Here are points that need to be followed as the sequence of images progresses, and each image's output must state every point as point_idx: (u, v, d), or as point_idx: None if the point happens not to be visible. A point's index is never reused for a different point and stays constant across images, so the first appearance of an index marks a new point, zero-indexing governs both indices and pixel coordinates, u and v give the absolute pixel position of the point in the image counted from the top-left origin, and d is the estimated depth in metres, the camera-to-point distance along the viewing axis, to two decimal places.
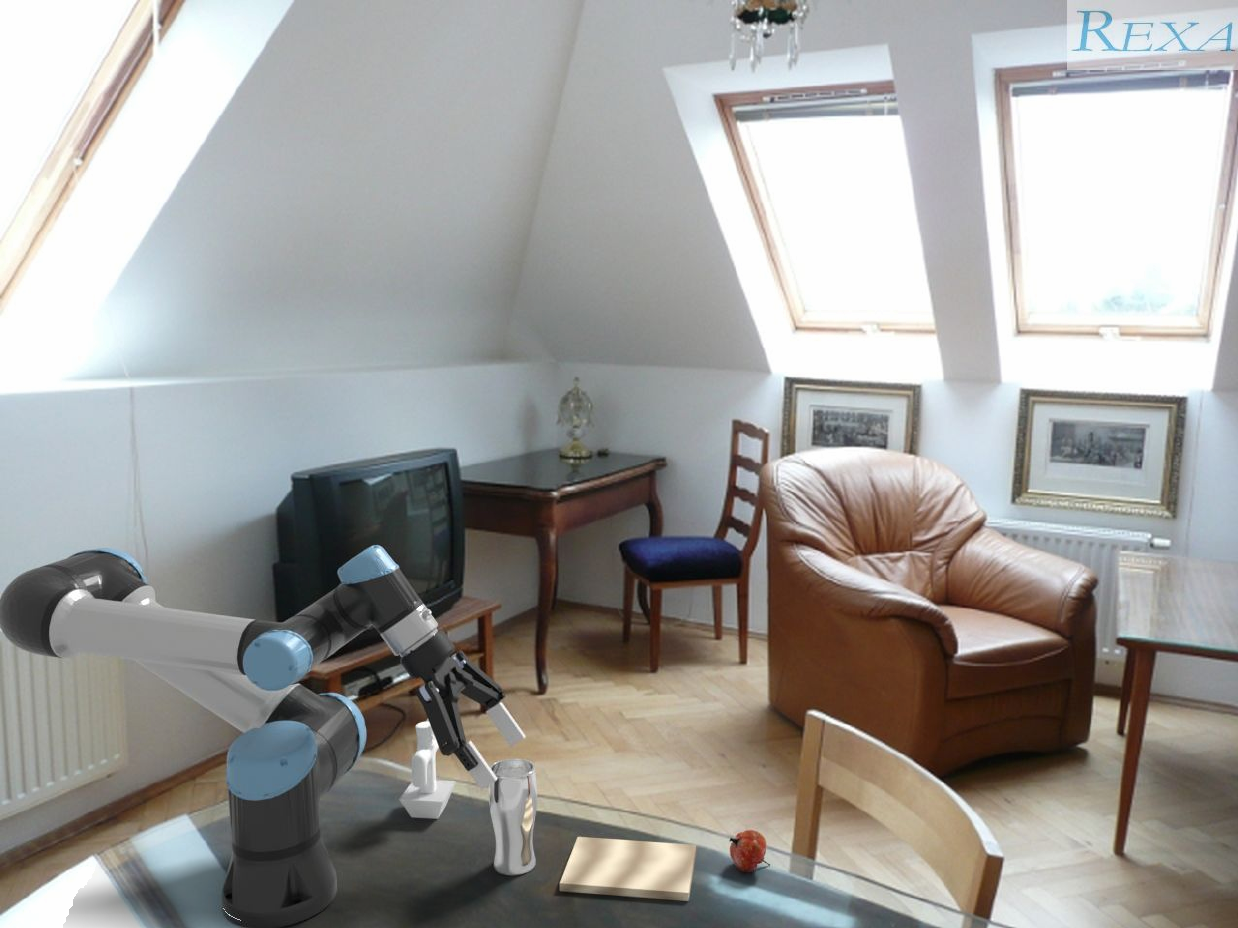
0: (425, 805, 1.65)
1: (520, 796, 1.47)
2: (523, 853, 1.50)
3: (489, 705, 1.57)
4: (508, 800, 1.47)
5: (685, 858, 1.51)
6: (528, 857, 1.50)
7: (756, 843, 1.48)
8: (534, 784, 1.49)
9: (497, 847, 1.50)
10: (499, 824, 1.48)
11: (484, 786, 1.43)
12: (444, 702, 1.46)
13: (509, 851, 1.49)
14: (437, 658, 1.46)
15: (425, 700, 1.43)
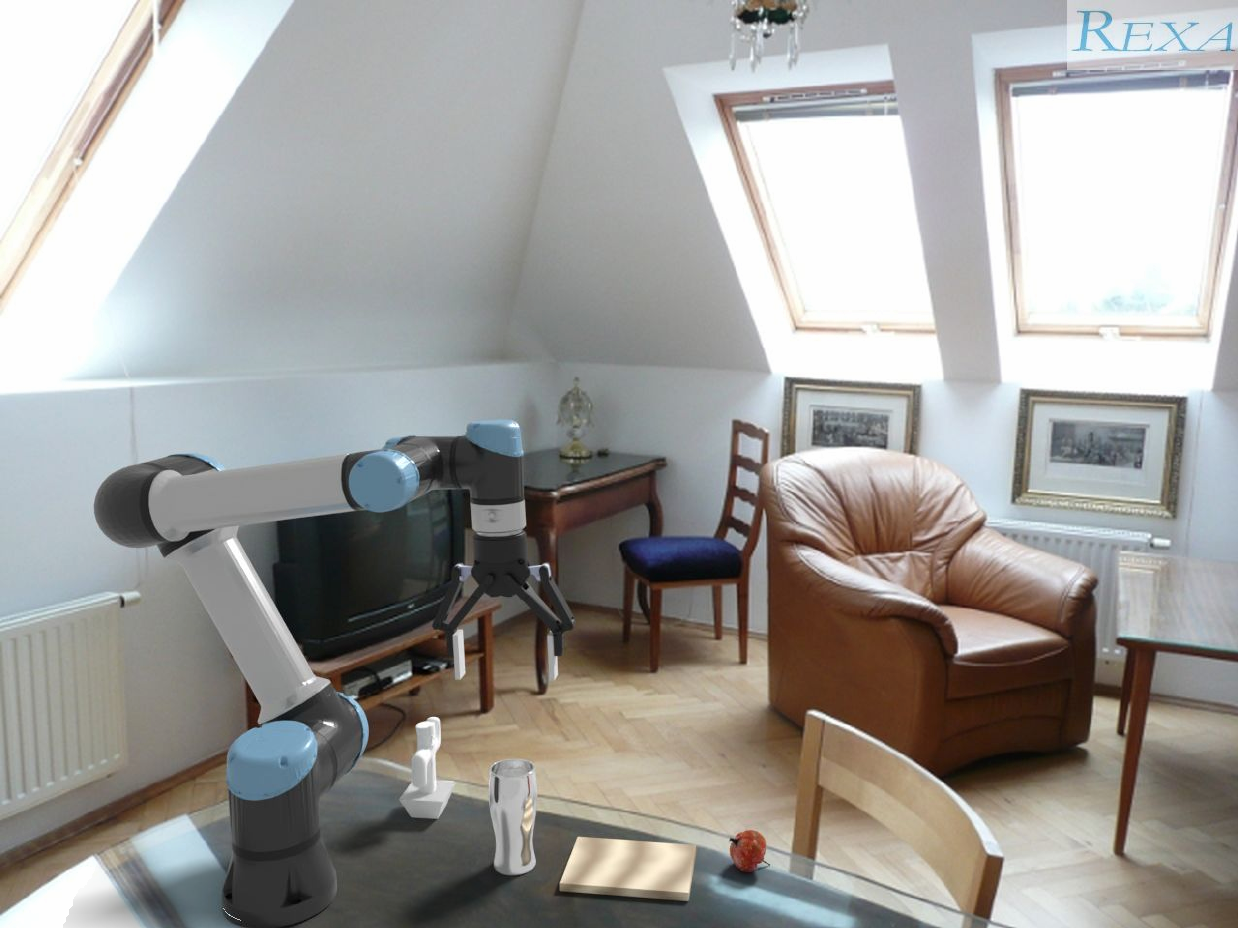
0: (425, 805, 1.65)
1: (520, 796, 1.47)
2: (523, 853, 1.50)
3: None
4: (508, 800, 1.47)
5: (685, 858, 1.51)
6: (528, 857, 1.50)
7: (756, 843, 1.48)
8: (534, 784, 1.49)
9: (497, 847, 1.50)
10: (499, 824, 1.48)
11: None
12: None
13: (509, 851, 1.49)
14: (476, 556, 1.43)
15: None
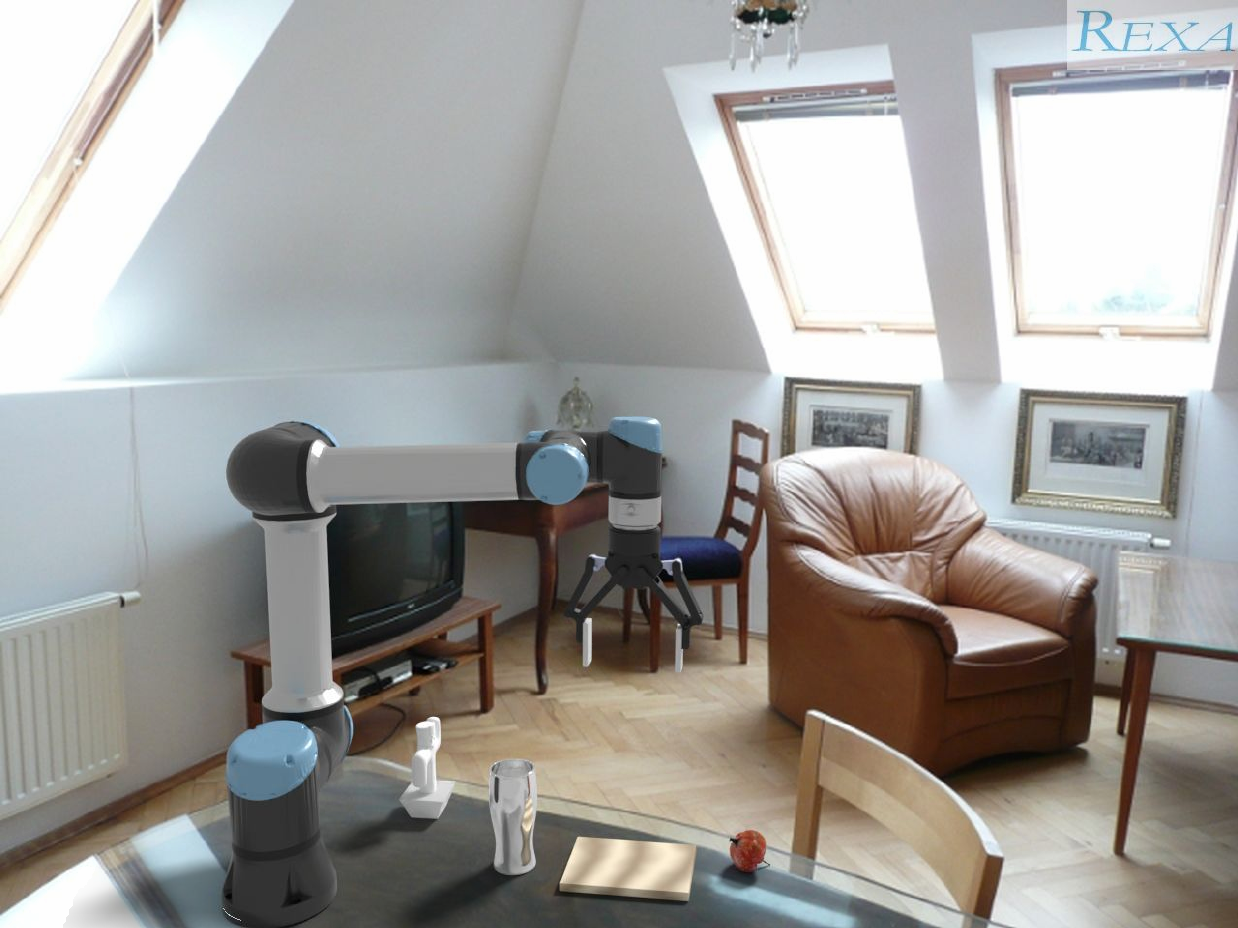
0: (425, 805, 1.65)
1: (520, 796, 1.47)
2: (523, 853, 1.50)
3: None
4: (508, 800, 1.47)
5: (685, 858, 1.51)
6: (528, 857, 1.50)
7: (756, 843, 1.48)
8: (534, 784, 1.49)
9: (497, 847, 1.50)
10: (499, 824, 1.48)
11: None
12: None
13: (509, 851, 1.49)
14: (612, 548, 1.48)
15: None
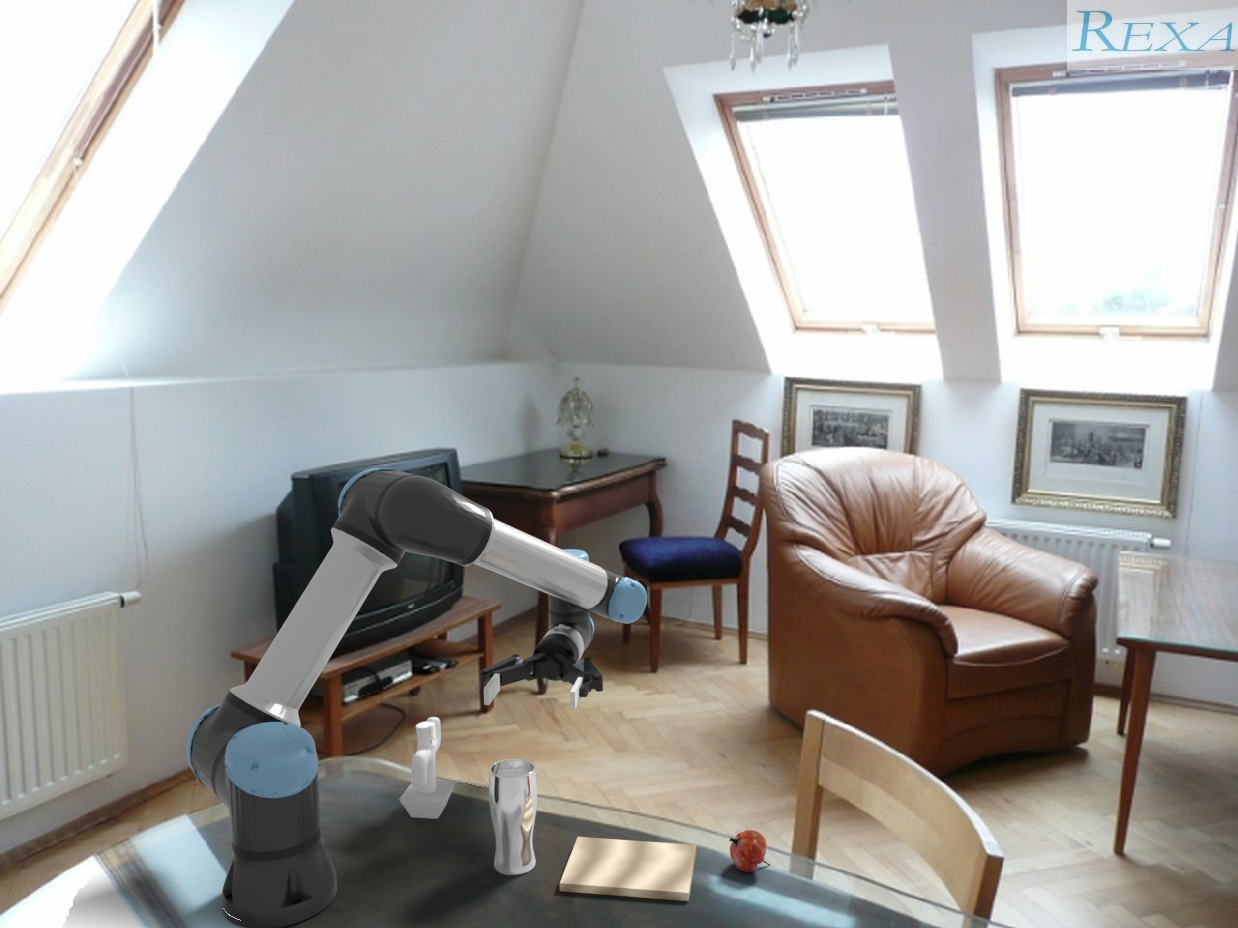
0: (425, 805, 1.65)
1: (520, 796, 1.47)
2: (523, 853, 1.50)
3: None
4: (508, 800, 1.47)
5: (685, 858, 1.51)
6: (528, 857, 1.50)
7: (756, 843, 1.48)
8: (534, 784, 1.49)
9: (497, 847, 1.50)
10: (499, 824, 1.48)
11: (484, 699, 1.61)
12: None
13: (509, 851, 1.49)
14: (538, 644, 1.77)
15: None
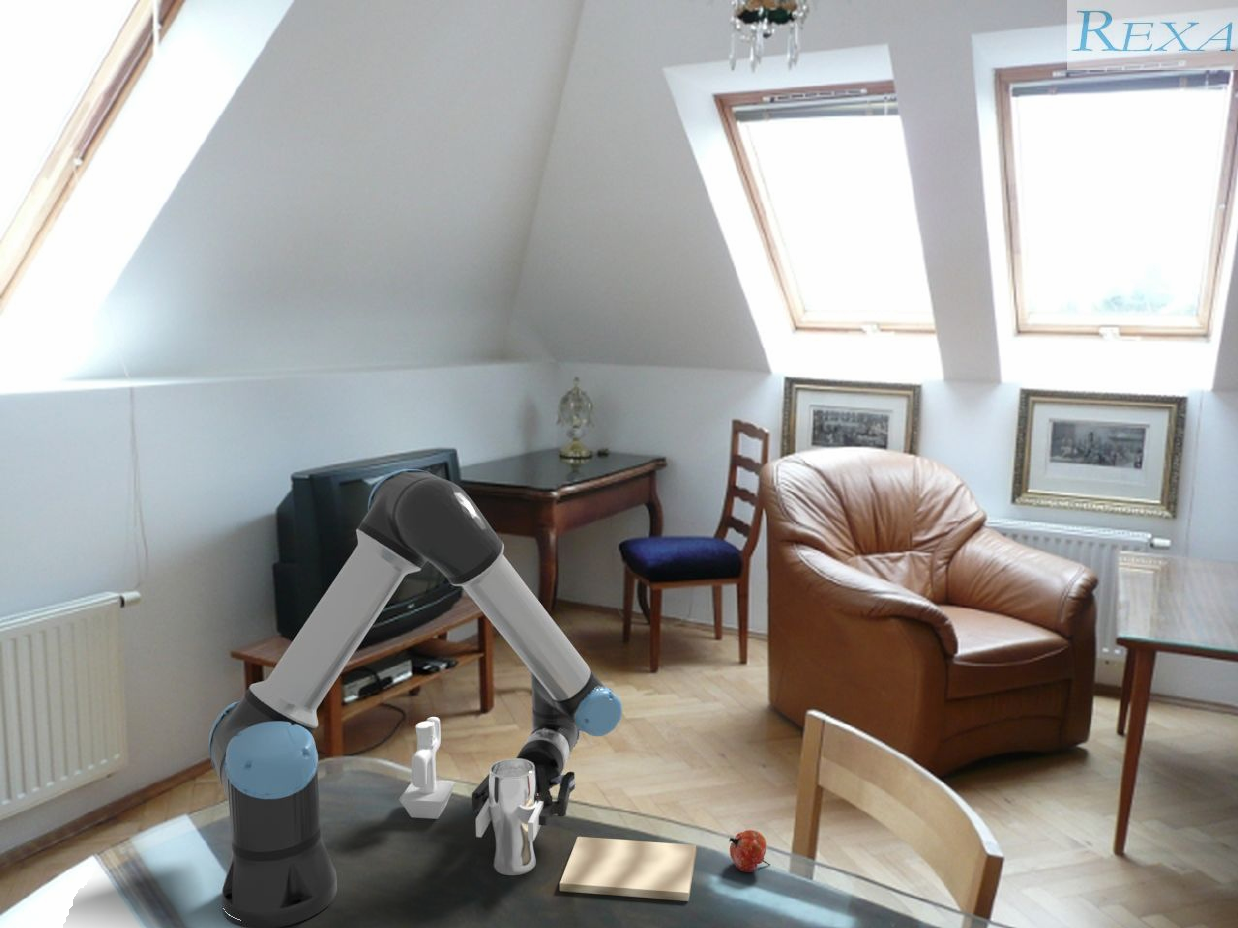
0: (425, 805, 1.65)
1: (520, 796, 1.47)
2: (523, 853, 1.50)
3: None
4: (508, 800, 1.47)
5: (685, 858, 1.51)
6: (528, 857, 1.50)
7: (756, 843, 1.48)
8: (534, 784, 1.49)
9: (497, 847, 1.50)
10: (499, 824, 1.48)
11: (476, 831, 1.47)
12: None
13: (509, 851, 1.49)
14: None
15: None
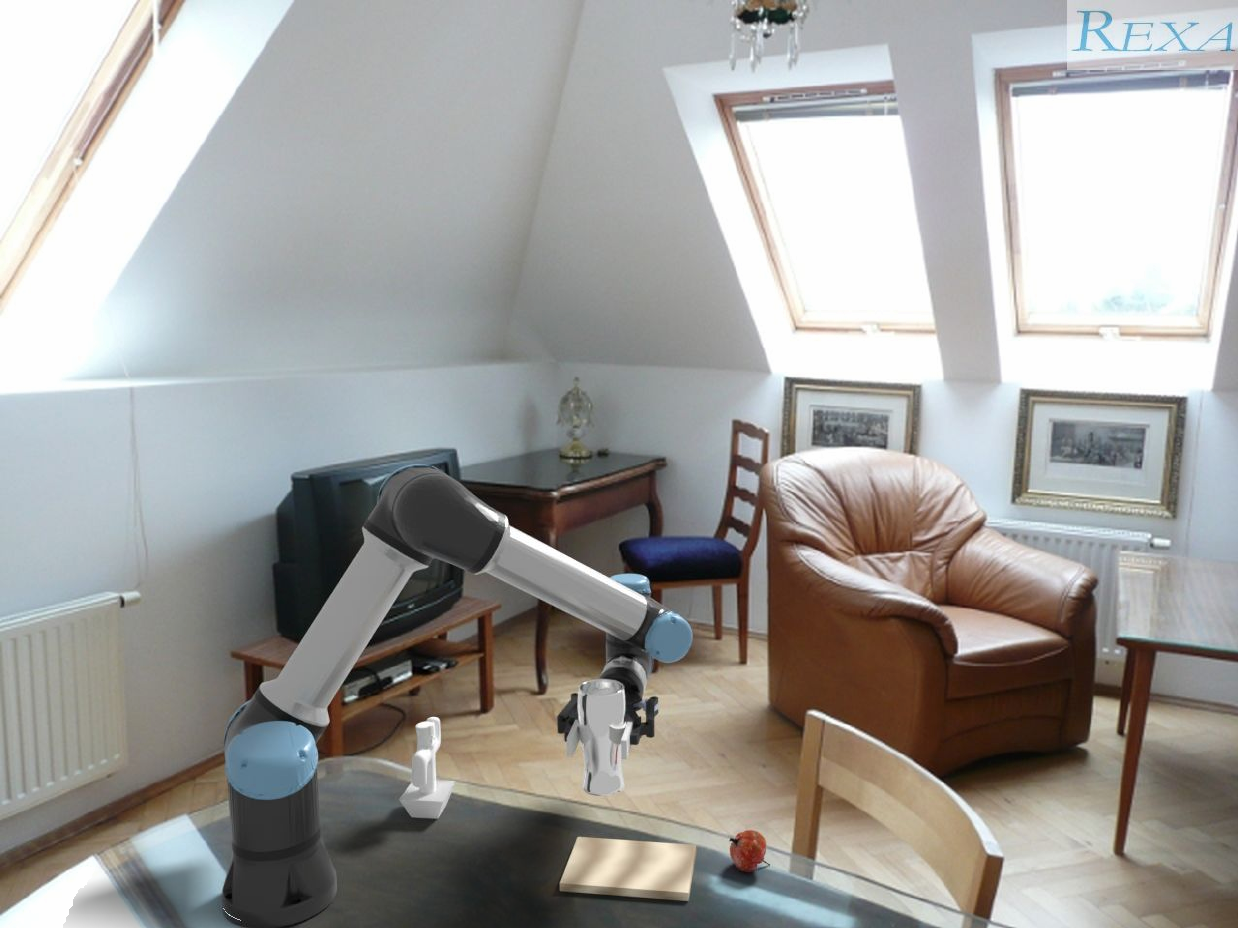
0: (425, 805, 1.65)
1: (611, 714, 1.44)
2: (613, 774, 1.46)
3: None
4: (599, 718, 1.44)
5: (685, 858, 1.51)
6: (618, 778, 1.47)
7: (756, 843, 1.48)
8: (624, 703, 1.46)
9: (586, 768, 1.47)
10: (589, 744, 1.45)
11: (567, 750, 1.44)
12: None
13: (599, 772, 1.46)
14: None
15: None
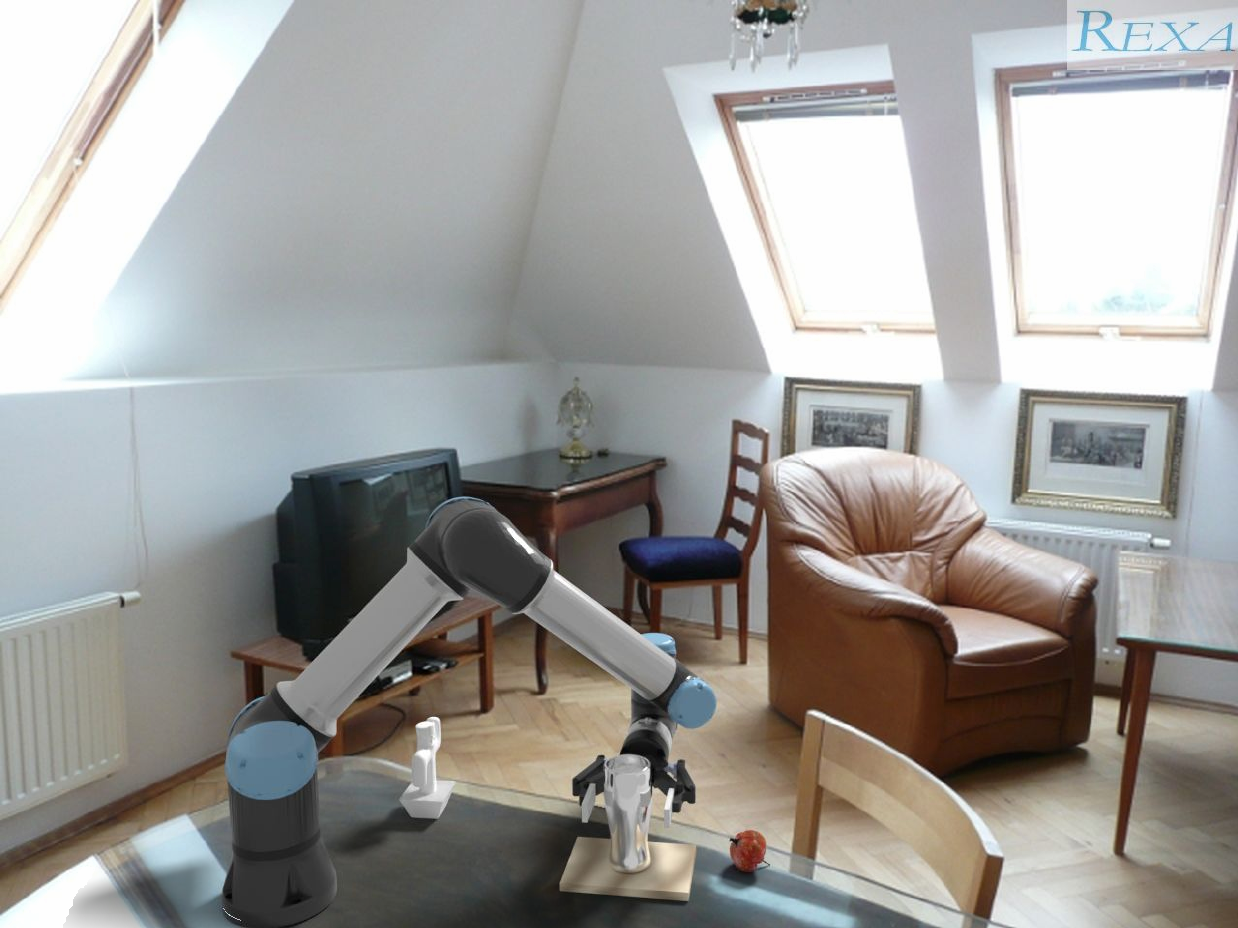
0: (425, 805, 1.65)
1: (638, 792, 1.45)
2: (639, 850, 1.47)
3: None
4: (626, 796, 1.45)
5: (685, 858, 1.51)
6: (645, 854, 1.48)
7: (756, 843, 1.48)
8: (650, 780, 1.47)
9: (613, 845, 1.48)
10: (616, 821, 1.46)
11: (582, 816, 1.46)
12: None
13: (626, 848, 1.47)
14: (625, 742, 1.63)
15: None
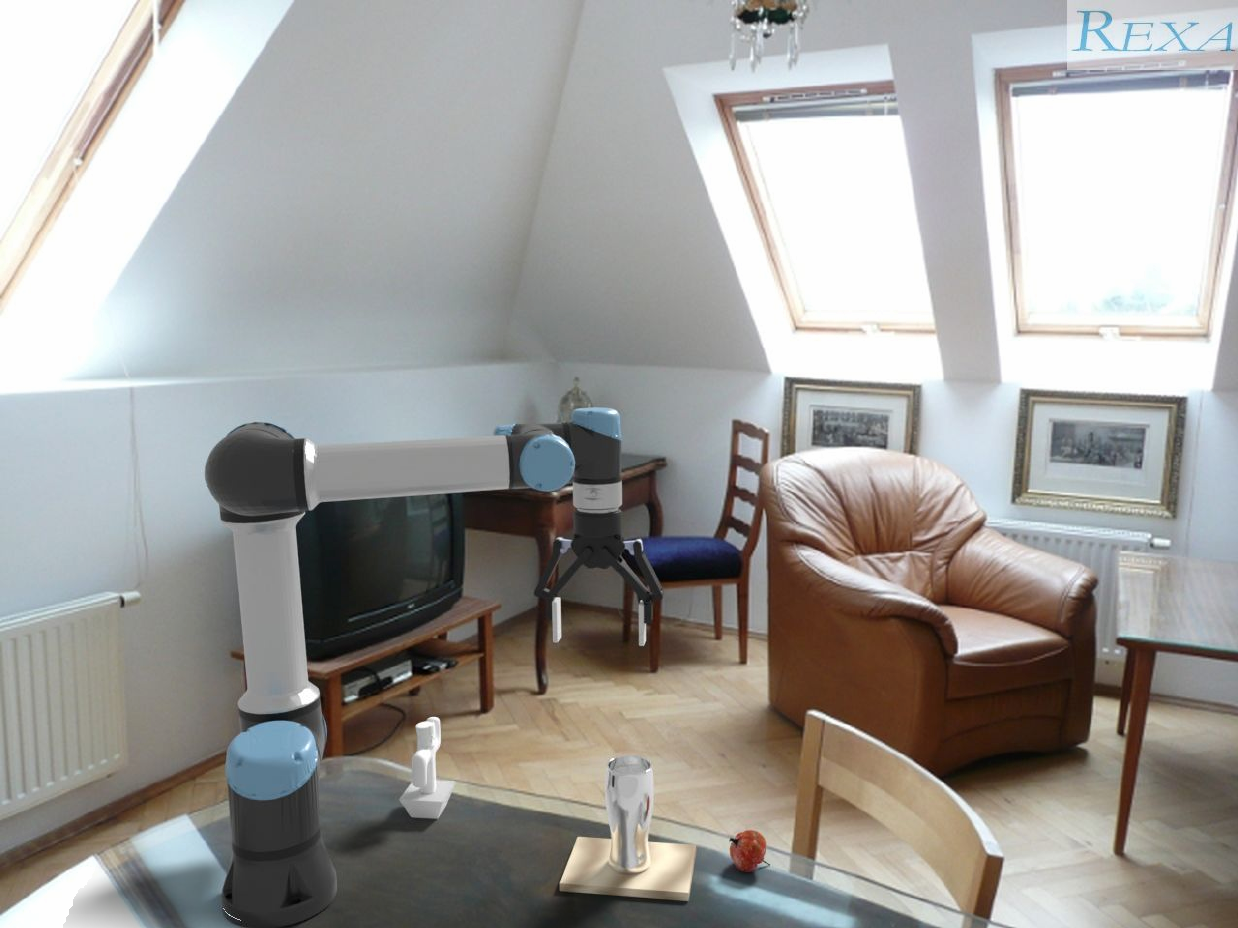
0: (425, 805, 1.65)
1: (639, 793, 1.45)
2: (640, 851, 1.47)
3: None
4: (627, 797, 1.45)
5: (685, 858, 1.51)
6: (645, 855, 1.48)
7: (756, 843, 1.48)
8: (652, 781, 1.47)
9: (613, 845, 1.48)
10: (617, 822, 1.46)
11: None
12: None
13: (627, 849, 1.47)
14: (577, 530, 1.58)
15: None
